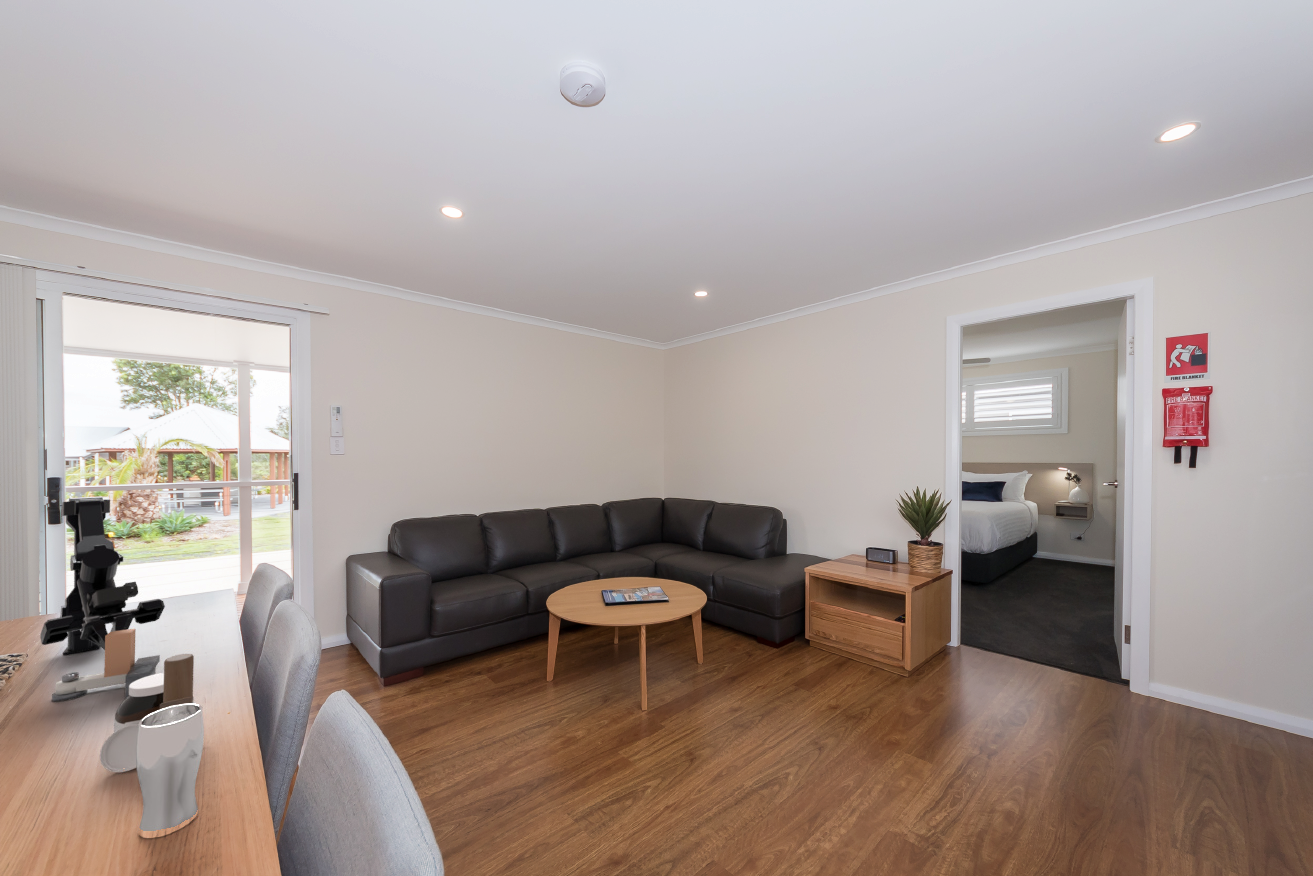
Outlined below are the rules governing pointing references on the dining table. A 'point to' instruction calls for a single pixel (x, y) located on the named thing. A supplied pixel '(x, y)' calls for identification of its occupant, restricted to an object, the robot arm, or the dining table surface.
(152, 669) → the dark grey block
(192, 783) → the beer glass
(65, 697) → the pintle plate
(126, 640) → the link
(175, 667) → the wooden block
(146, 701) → the spread jar
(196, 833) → the dining table surface
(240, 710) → the dining table surface
